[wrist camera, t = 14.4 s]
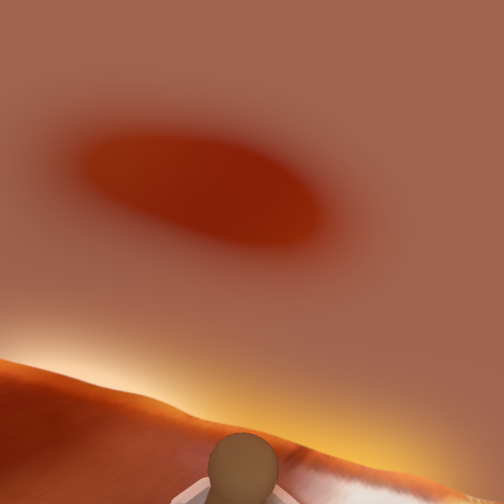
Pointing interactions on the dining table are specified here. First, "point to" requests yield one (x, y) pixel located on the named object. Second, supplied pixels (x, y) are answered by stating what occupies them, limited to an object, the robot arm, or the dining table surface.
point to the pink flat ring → (195, 495)
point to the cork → (242, 470)
